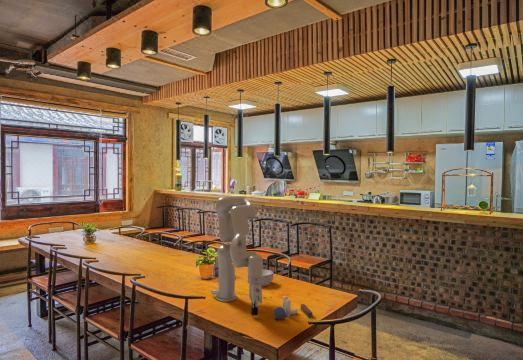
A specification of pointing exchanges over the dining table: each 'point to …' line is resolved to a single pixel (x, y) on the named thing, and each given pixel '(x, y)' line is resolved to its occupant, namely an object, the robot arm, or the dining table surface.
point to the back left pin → (284, 302)
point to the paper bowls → (267, 277)
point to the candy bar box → (216, 267)
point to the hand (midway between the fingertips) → (254, 314)
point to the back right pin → (288, 308)
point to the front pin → (292, 312)
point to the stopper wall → (306, 310)
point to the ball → (279, 313)
